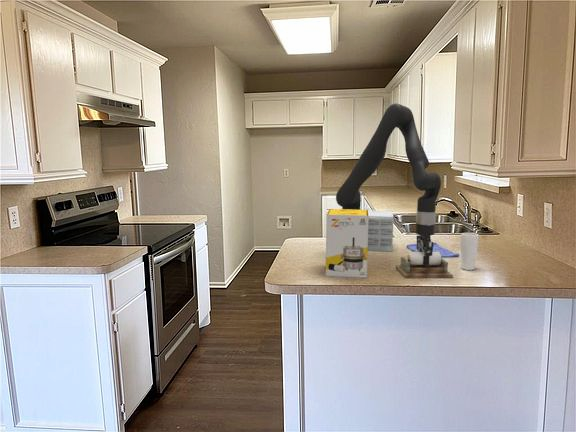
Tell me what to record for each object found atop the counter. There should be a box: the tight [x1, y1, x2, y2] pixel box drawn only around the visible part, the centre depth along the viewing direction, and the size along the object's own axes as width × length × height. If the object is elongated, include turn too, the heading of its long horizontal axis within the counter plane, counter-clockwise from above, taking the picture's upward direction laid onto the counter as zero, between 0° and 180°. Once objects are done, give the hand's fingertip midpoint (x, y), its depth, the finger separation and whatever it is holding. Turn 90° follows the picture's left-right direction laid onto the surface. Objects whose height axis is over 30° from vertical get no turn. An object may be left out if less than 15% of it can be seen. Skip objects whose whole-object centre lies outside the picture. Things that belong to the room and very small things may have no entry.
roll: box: [406, 251, 441, 265], centre depth 171 cm, size 13×6×6 cm, turn 91°
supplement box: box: [368, 210, 395, 253], centre depth 215 cm, size 17×13×18 cm
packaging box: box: [325, 208, 369, 279], centre depth 172 cm, size 16×16×25 cm
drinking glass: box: [460, 232, 480, 271], centre depth 176 cm, size 7×7×15 cm
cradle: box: [395, 256, 454, 279], centre depth 171 cm, size 19×14×6 cm
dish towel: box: [406, 242, 461, 259], centre depth 207 cm, size 17×24×3 cm
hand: (423, 263), depth 171 cm, fingers closed on roll, 5 cm apart
